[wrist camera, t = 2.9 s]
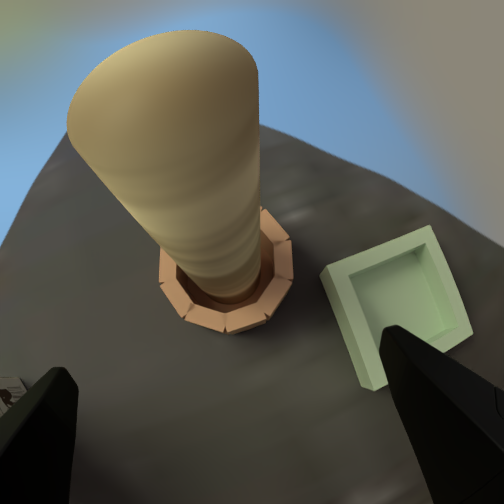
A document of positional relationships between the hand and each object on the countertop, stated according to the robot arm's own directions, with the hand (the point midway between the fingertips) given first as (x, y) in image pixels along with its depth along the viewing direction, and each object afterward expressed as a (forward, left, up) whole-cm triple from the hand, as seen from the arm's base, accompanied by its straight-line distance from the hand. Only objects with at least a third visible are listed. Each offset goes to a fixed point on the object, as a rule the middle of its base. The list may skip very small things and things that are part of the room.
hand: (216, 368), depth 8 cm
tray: (-1, -10, -12) cm, 16 cm away
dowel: (+5, -1, -12) cm, 13 cm away
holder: (+5, -1, -12) cm, 13 cm away
